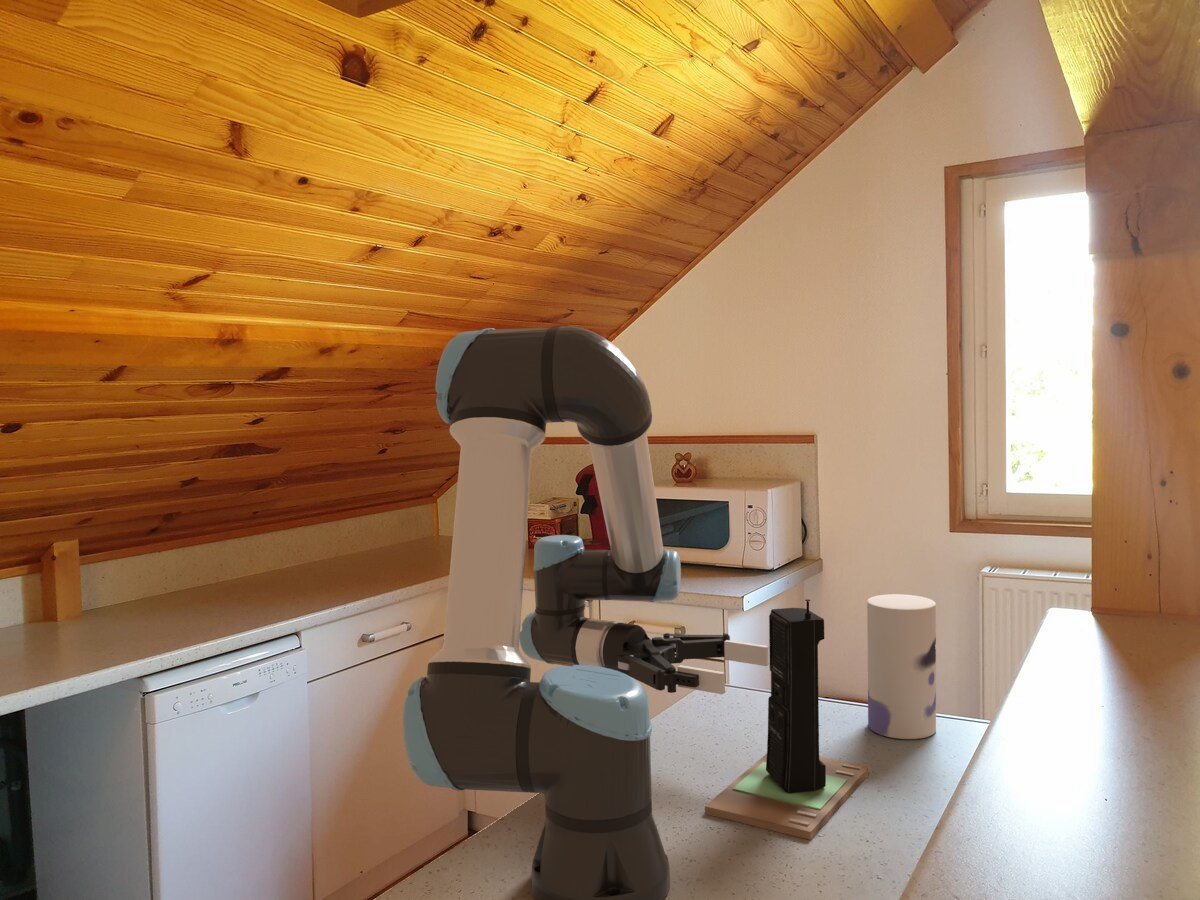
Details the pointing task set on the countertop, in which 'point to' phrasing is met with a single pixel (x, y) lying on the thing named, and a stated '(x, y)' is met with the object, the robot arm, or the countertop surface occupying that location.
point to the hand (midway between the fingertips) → (746, 669)
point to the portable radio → (794, 700)
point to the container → (901, 666)
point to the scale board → (786, 799)
